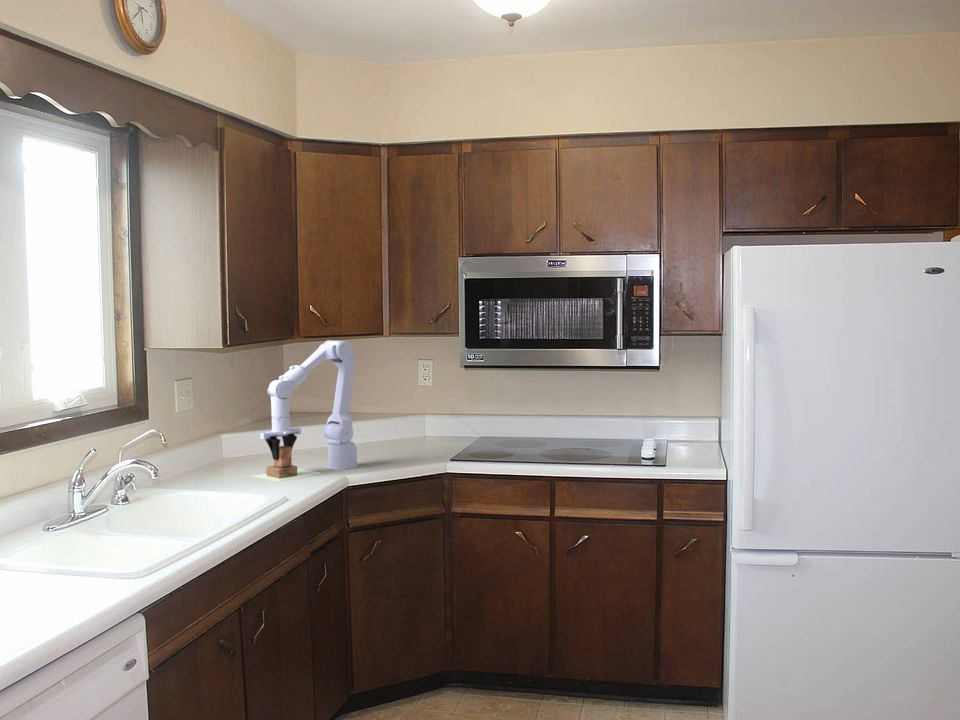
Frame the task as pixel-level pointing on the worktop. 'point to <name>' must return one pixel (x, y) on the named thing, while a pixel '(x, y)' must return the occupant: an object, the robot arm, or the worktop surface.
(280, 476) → the walnut slab
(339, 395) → the robot arm
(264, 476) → the plate
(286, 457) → the cherry block
